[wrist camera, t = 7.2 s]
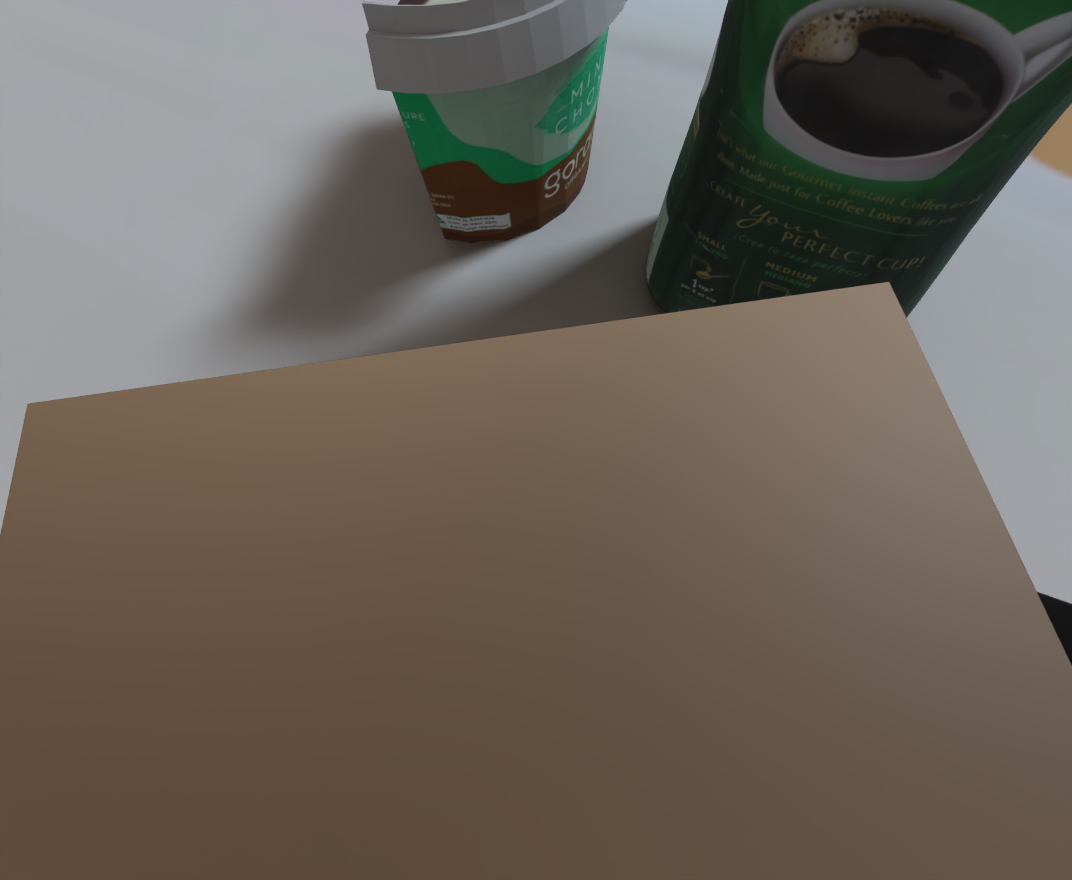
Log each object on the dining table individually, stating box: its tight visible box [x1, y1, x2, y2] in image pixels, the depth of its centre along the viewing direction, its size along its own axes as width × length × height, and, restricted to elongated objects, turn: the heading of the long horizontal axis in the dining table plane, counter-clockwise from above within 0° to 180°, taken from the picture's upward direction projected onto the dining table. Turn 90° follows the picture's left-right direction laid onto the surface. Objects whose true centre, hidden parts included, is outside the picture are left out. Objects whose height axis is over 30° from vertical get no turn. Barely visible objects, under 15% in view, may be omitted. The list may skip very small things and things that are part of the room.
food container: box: [362, 0, 627, 243], centre depth 21 cm, size 12×6×10 cm, turn 163°
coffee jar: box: [646, 0, 1072, 318], centre depth 15 cm, size 10×8×19 cm
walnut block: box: [0, 282, 1072, 880], centre depth 8 cm, size 5×5×13 cm
